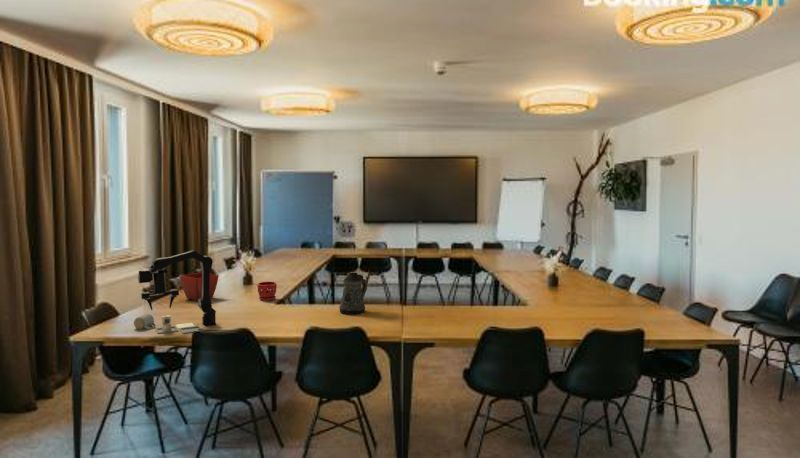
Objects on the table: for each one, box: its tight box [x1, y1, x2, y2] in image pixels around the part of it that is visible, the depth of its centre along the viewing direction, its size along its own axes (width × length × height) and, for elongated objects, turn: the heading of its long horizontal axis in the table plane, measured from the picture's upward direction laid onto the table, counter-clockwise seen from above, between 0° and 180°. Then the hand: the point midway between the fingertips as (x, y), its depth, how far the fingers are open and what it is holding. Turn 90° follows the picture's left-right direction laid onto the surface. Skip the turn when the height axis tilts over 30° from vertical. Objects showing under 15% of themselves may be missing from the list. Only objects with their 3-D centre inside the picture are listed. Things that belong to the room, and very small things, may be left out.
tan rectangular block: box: [161, 314, 172, 332], centre depth 296 cm, size 4×4×8 cm
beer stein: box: [338, 272, 368, 316], centre depth 345 cm, size 16×19×25 cm
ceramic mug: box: [133, 313, 157, 330], centre depth 302 cm, size 11×8×8 cm
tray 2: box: [179, 325, 202, 335], centre depth 297 cm, size 10×10×1 cm
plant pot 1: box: [179, 272, 220, 301], centre depth 384 cm, size 19×19×17 cm
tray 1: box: [154, 325, 179, 335], centre depth 296 cm, size 10×10×1 cm
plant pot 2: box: [256, 281, 277, 302], centre depth 381 cm, size 13×13×12 cm
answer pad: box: [175, 322, 195, 329], centre depth 307 cm, size 9×9×1 cm
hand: (160, 309), depth 298 cm, fingers open, 9 cm apart
